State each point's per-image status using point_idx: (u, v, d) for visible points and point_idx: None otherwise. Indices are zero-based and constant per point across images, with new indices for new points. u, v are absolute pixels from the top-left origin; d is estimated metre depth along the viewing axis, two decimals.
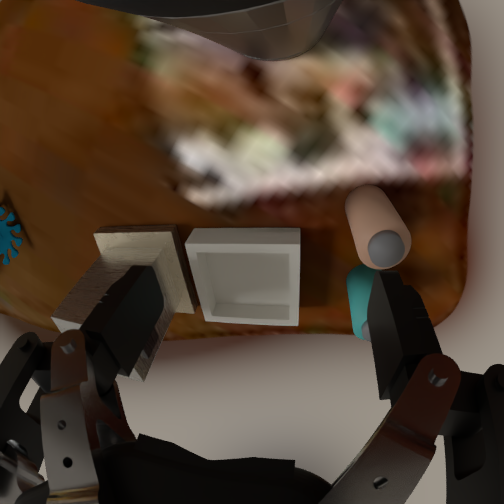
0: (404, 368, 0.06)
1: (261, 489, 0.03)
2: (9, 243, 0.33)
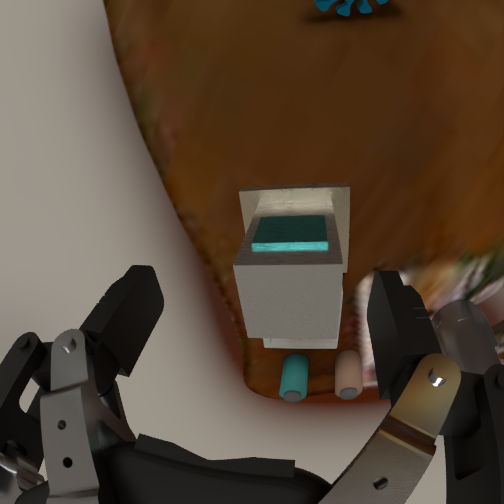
0: (404, 368, 0.06)
1: (261, 489, 0.03)
2: None
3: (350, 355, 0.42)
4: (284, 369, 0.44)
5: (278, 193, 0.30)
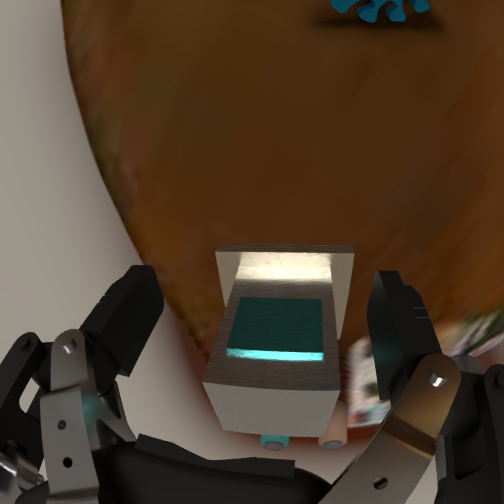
0: (404, 368, 0.06)
1: (261, 489, 0.03)
2: None
3: (336, 406, 0.38)
4: None
5: (264, 256, 0.24)
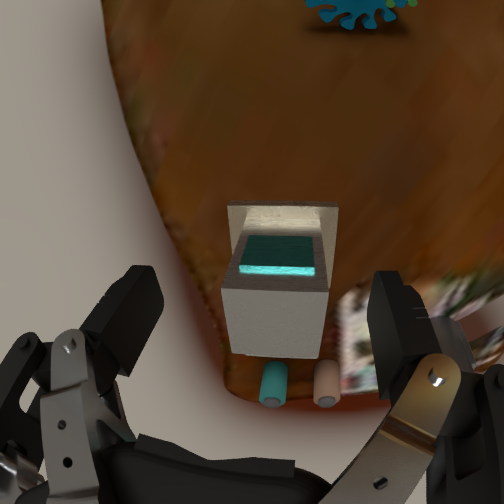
0: (404, 368, 0.06)
1: (261, 489, 0.03)
2: (334, 3, 0.16)
3: (329, 364, 0.44)
4: (264, 376, 0.45)
5: (266, 209, 0.30)
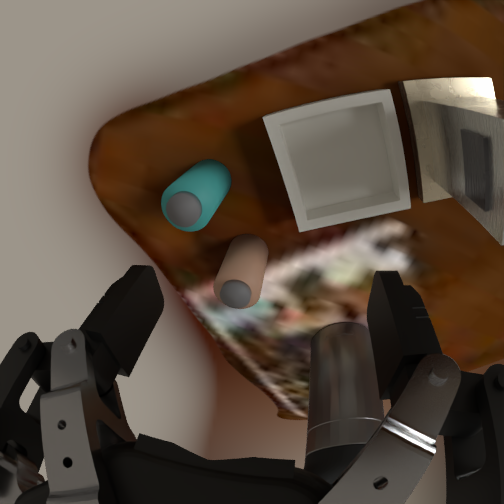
0: (404, 368, 0.06)
1: (261, 489, 0.03)
2: None
3: (266, 254, 0.30)
4: (206, 167, 0.24)
5: None
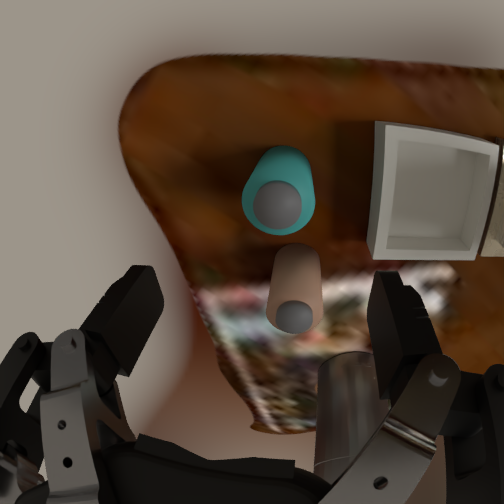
0: (404, 368, 0.06)
1: (261, 489, 0.03)
2: None
3: None
4: (299, 158, 0.19)
5: None
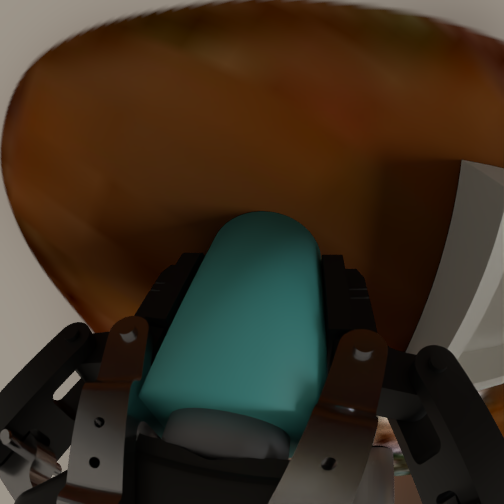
0: (335, 343, 0.07)
1: (261, 489, 0.03)
2: None
3: None
4: (296, 267, 0.08)
5: None
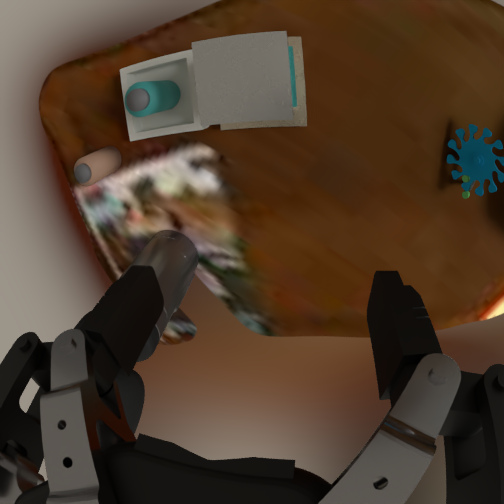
0: (404, 368, 0.06)
1: (261, 489, 0.03)
2: (469, 141, 0.27)
3: (117, 159, 0.38)
4: (163, 82, 0.29)
5: (299, 67, 0.28)
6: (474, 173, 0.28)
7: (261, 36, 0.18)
